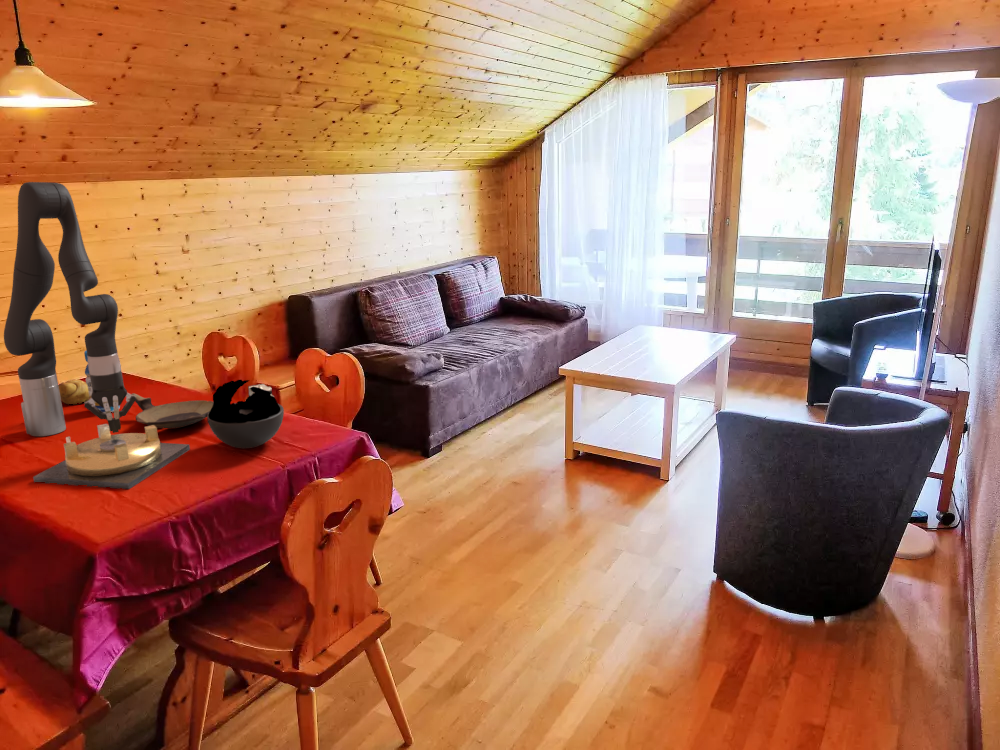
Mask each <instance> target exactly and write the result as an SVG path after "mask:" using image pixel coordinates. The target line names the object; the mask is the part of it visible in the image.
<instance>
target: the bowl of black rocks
mask: <svg viewBox="0 0 1000 750" xmlns="http://www.w3.org/2000/svg"><path fill="white" fill-rule="evenodd" d="M249 382H250V379H247V380H246V379H244V380H242V379H236V380H230V381H228V382H224V383H223V384H222V385H219V386H218V387H217V389H216V390H215V391H214V393H213V395H212V402H214V403H213V406H212V408H211V410H210V412H209V414H208V415H207V417H206V419H207V423H208V426H209V428H210V430H211V432H212V433H213V434H214V435H215V436H216V438H218V440H219V441H221V442H222V443H224V444H226V445H228V446H230V447H232V448H236V449H252V448H257V447H260V446H261V445H264V444H265V443H267V442H269V441H270V440H271V439H272V438H273V437H274V436H275V435H276V434H277V433H278V431H279V430H280V428H281V426H282V423H283V419H284V414H285V410H284V406H283V405H281V404H279V403H278V400H277V398H274V397H275V396H274V395H273V396H274V397H273V396H271V393H270V392H269V391H267V390H263V389H261V388H257V387H251V388H250V389H251V391H252V392H254V393H253V394H252V395H251V396H249V395H248V396H247V397H246V398H245V400H244V401H243V400H238V401H237V402H232V401H233V397H234V396H235V395H236V393H237V392H238V390H239V389H240V388H241V387H244V385H245V384H246V383H249ZM231 402H232V403H231Z"/></svg>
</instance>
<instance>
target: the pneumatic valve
mask: <svg viewBox="0 0 1000 750" xmlns="http://www.w3.org/2000/svg"><path fill="white" fill-rule="evenodd" d="M251 387H257V388H261V389H263V390H267V391H269V392H270V393H271V396H273V397H274V398H275V395H273V391H272V387H271V386H267V385H265V383H259V384H253V385H248V387H247V388H248V397H249V396H251V395H252V394H253V393H254V392H252V391H251V389H250V388H251ZM275 399H276V398H275Z"/></svg>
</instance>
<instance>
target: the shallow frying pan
mask: <svg viewBox="0 0 1000 750" xmlns="http://www.w3.org/2000/svg"><path fill="white" fill-rule="evenodd" d="M130 394H131V395H135V396H136V401H135V402H134V403H136V404H137V406H138V408H140V409H141V411H139V413H137V414H136V416H135V420H136V422H137V423H140V424H143V425H147V426H152V425H155V426H156V427H157V429H179V428H184V427H187V426H190V425H193V424H196V423H198V422H201V421H202V420H205V419H207V415H208V414H209V412H210V410H211V408H212V406H213V403H214V402H213V400H203V399H202V400H201V399H200V400H199V399H198V400H197V399H196V400H187V401H177V402H169V403H164V404H159V405H154V404H153V403H152V398H151V397H143V396H141V395H139V394H137V393H133V392H132V393H130Z"/></svg>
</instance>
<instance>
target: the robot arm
mask: <svg viewBox="0 0 1000 750" xmlns="http://www.w3.org/2000/svg"><path fill="white" fill-rule="evenodd" d="M44 219H50V220H51V219H57V220H58V221H59V224H60V226H61V229H62V236H61V238H62V239H61V242H60V245H59V250H58V254H57V256H58V258H57V260H58V265H59V268H60V270H61V272H62V276H63V278H64V279H65V282H66V284H67V287H68V292H69V298H70V313H71V315H72V318H73V319H74V320H75V321H76V322H77V323H78V324H80V325H93V324H98V323H99V326H98V327H97V328H96V329H95V330H93V331H90V332H88V333H86V334H85V336H84V345H85V351H87V355H88V362H87V364H88V369H89V374H90V379H91V385H92V391H93V392H92V395H91V397H92V398H90V399H89V400H88V401H85V402H84V403H83V404H84V408H85V409H87V410H88V411H90V413H91V414H93V415H95V417H97V418H98V419H100V420H105V421H107V424H108V425H109V429H110V432H112V433H113V434H117V433H119V432H120V430H121V428H122V426H121V420H120V418H122V417H125V416H127V414H128V413H129V412H130V410H131V408H132V406H133V405H134V403H136V402H135V401H136V396H135V395H131V394H132V393H129V392H128V390H127V389H126V387H125V385H124V377H123V372H122V364H121V360H120V357H119V354H118V348H117V342H116V332H117V331H116V329H117V322H118V315H119V306H118V304H117V300H115V298H114V297H113V296H112V295H110V294H107V293H101V294H95V295H88V296H85V292H88V291H90V290H92V289H94V288H96V287H97V285H98V284H99V279H98V276H97V274H96V271H95V269H94V267H93V265H92V263H91V260H90V258H89V255H88V253H87V251H86V247H85V244H84V239H83V237H82V231H81V228H80V227H81V226H80V224H79V219H78V217H77V212H76V208H75V205H74V201H73V198H72V195H71V193H70V191H69V189H68V188H67V187H66V186H65V185H64V184H63V183H60V182H51V181H50V182H48V181H47V182H46V181H45V182H44V181H28V182H24V183H22V185H20V188H19V191H18V196H17V239H16V240H17V241H16V251H15V258H14V264H13V274H12V288H11V296H10V303H9V307H8V312H7V315H6V316H7V317H6V320H5V325H4V329H3V343H4V345H5V348H6V350H7V351H8V353H10V355H12V356H15V357H16V356H17V357H18V356H26V355H31V356H30V358H29V359H28V360H27V361H26V362H24V363H23V364H22V365H20V366H19V367H18V368H17V375H18V380H19V385H20V390H21V395H22V396H21V397H22V399H23V401H22V402H21V403H20V406H21V411H22V416H23V420H24V427H25V433H26V434H27V435H30V436H33V437H46V436H47V437H48V436H52V435H57V434H59V433H62V432H65V430H66V429H67V426H66V420H65V415H64V409H63V404H62V403H63V402H62V400H61V397H60V392H59V386H58V385H59V382H58V376H57V370H56V367H57V358H56V356H57V355H56V350H55V349H56V348H55V341H54V333H53V331H52V329H51V327H50V324H49V323H47V321H45V320H44V319H41V318H36V319H32V316H33V315H34V312H35V310H36V309H37V307H39V305H40V304H41V303H42V301H44V299H45V298H46V297H47V295H48V294H49V292H50V291H51V289H52V286H53V283H54V276H55V267H56V264H55V260H54V258H53V256H52V254H51V252H50V251H49V249H48V248H47V246H46V245H45V243H44V242H43V240H42V238H41V236H40V228H39V226H40V225H39V224H40V220H44ZM124 400H125V401H126V402H125V404H124V406H123V407H122V408H121V410H120V408H119V405H120V406H121V405H122V403H123V401H124ZM94 401H95V402H96V403H97V404H99V405H100V406H101V407H103V408H104V409H105V412H106V413H103V412H102V411H100V410H99V409H98V408H97V407H95V403H94ZM110 407H113V408H114V412H112V413H113V414H112V413H111V409H110Z"/></svg>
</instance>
